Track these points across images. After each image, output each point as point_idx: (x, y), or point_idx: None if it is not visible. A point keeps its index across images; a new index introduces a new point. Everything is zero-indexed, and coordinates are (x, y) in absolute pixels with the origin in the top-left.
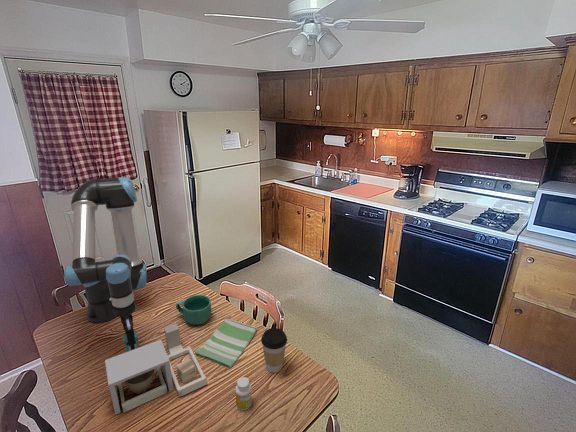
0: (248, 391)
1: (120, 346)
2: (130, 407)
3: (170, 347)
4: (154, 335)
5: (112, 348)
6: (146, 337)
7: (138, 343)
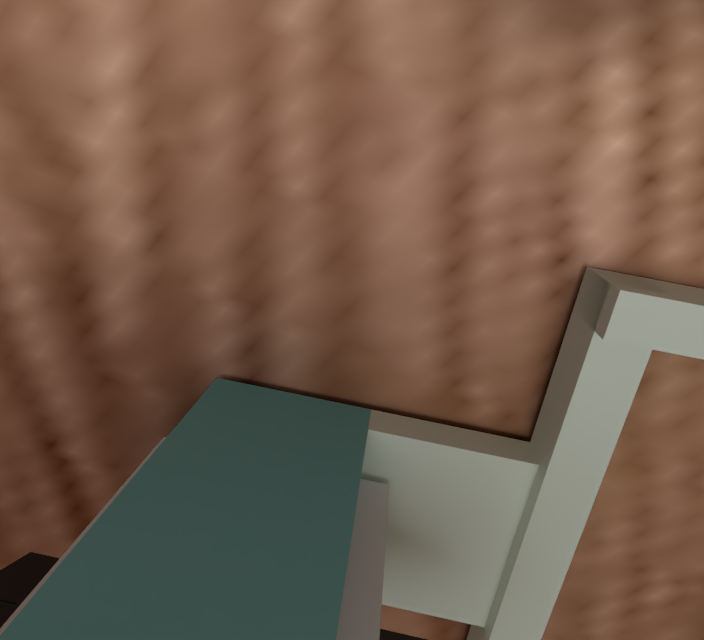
0: None
1: (20, 522)
2: None
3: None
4: (32, 43)
5: None
6: (13, 184)
7: (340, 591)
